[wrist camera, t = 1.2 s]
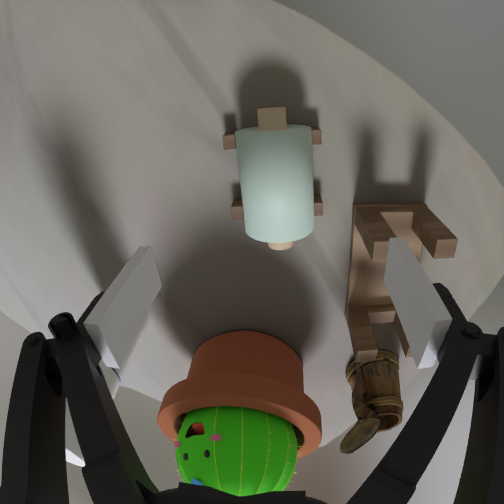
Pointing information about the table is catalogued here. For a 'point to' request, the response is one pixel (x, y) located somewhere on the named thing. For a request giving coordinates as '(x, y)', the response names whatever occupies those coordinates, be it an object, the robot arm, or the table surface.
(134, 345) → the white tapered bar
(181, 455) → the potted cactus
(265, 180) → the paper roll
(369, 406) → the wooden mug
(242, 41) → the table surface
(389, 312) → the roll holder
